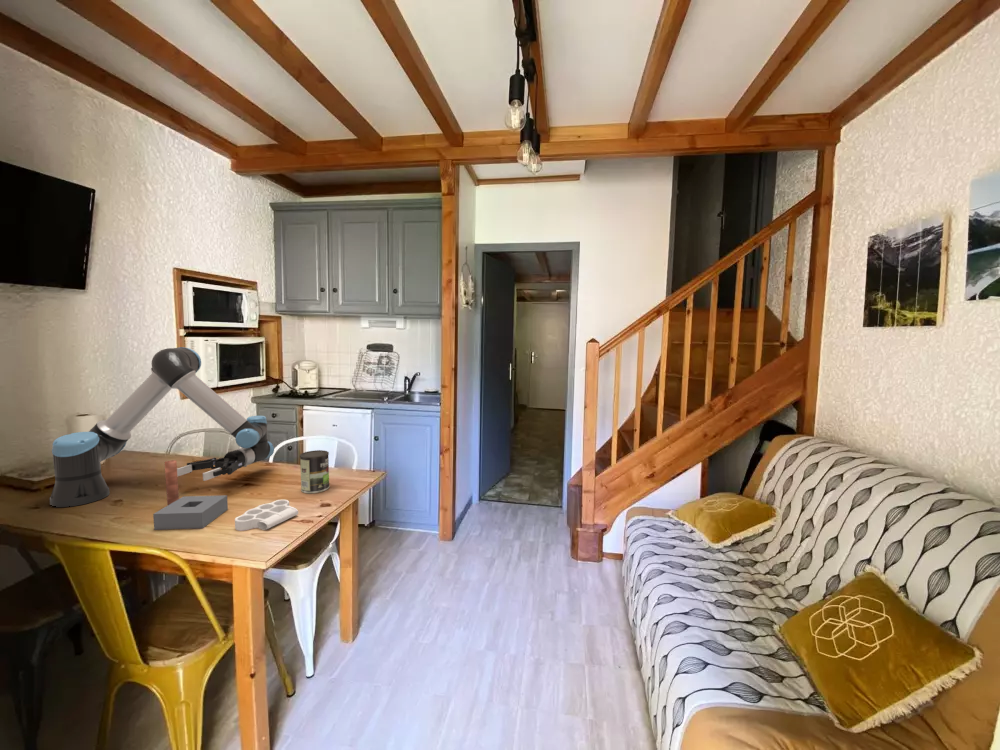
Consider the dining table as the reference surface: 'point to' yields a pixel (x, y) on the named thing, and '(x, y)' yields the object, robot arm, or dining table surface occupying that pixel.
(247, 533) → the dining table surface
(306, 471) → the coffee can
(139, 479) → the dining table surface
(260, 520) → the knuckle duster
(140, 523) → the dining table surface
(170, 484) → the dowel
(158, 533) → the dining table surface
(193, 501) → the socket block
